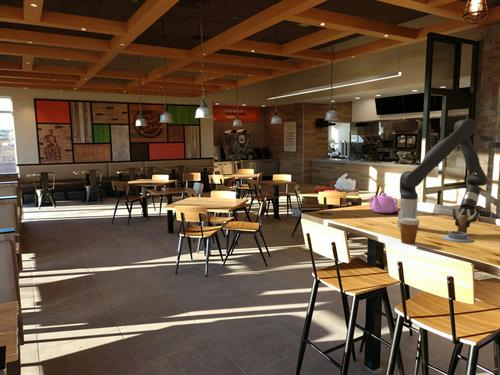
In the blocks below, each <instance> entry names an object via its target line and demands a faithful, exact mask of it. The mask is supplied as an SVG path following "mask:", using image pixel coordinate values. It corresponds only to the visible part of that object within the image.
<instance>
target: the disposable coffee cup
mask: <svg viewBox="0 0 500 375" xmlns="http://www.w3.org/2000/svg"><path fill="white" fill-rule="evenodd" d="M399 222H400V227H399V230H400V242H401V243H402V244H405V245H415V244H416V239H417V235H418V234H417V233H418V228H419V225H420V220H419V218H410V217H402V218H400V220H399Z"/></svg>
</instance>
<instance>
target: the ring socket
mask: <svg viewBox="0 0 500 375" xmlns="http://www.w3.org/2000/svg"><path fill="white" fill-rule="evenodd" d="M441 238H442V240H445V241H449V242H454V243H463V244H464V243H472V242H473V241H474V239H473V238H472V237H470V236H468V232H467V233H464V232H459V231H458V230H456V231H455V230H450V231H449V230H448V233H447V234H443V235H442V237H441Z"/></svg>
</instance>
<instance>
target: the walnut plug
mask: <svg viewBox="0 0 500 375" xmlns="http://www.w3.org/2000/svg"><path fill="white" fill-rule="evenodd" d="M467 220H468V216H467V215H459V220H458V227H457V231H459V232H464V233H467V234H468V228H466V223H467Z"/></svg>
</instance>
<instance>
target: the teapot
mask: <svg viewBox="0 0 500 375" xmlns="http://www.w3.org/2000/svg"><path fill="white" fill-rule="evenodd" d="M369 207H370V209H371V210H372V211H373V212H375V213H380V214H384V213H387V214H393V213H394V212H396V211H397V212H398V211H399V207H398V199H397V198H395V197H392V196H391V195H387V193H386V192H382V193H381V194H379V195H378V194H377V195H375V194H373V195H372V196H371V197H370V204H369Z"/></svg>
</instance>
